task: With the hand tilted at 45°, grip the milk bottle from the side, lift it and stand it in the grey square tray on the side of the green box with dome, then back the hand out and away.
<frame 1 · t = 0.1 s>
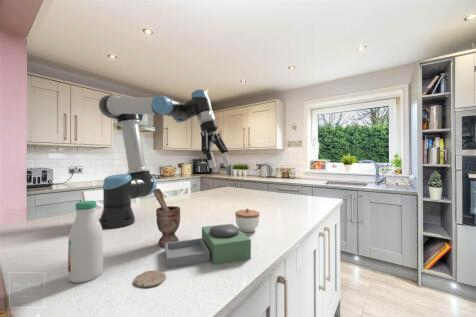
hand: (220, 166, 100), 28 cm above the worktop, tool tilted 20°, fingers open, 13 cm apart
flatbread: (150, 281, 59), on the worktop
milk bottle: (86, 276, 60), on the worktop
green box with dome: (224, 250, 77), on the worktop
mortar and pestle: (164, 243, 84), on the worktop
grey square tray: (186, 255, 73), on the worktop
lidded jar: (247, 230, 99), on the worktop
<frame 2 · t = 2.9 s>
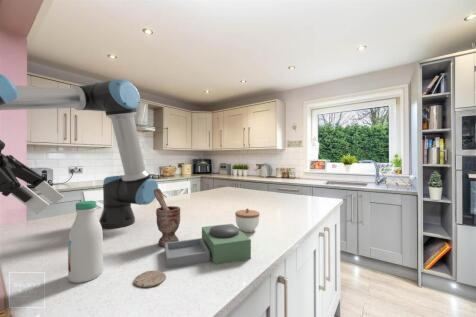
hand: (52, 204, 57), 20 cm above the worktop, tool tilted 45°, fingers open, 13 cm apart
nothing on the worktop moved.
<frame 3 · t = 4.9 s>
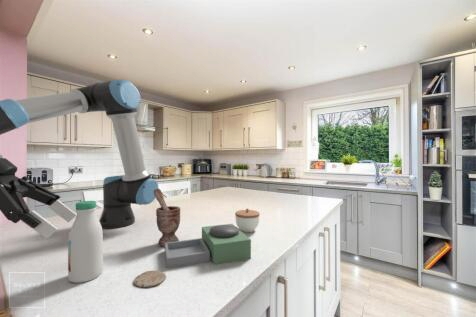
hand: (63, 225, 58), 14 cm above the worktop, tool tilted 45°, fingers open, 13 cm apart
nothing on the worktop moved.
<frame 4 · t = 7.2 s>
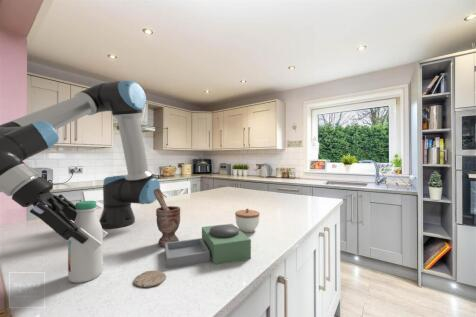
hand: (100, 242, 61), 9 cm above the worktop, tool tilted 45°, fingers closed on milk bottle, 7 cm apart
milk bottle: (86, 276, 60), on the worktop, touching gripper
everything else where it was.
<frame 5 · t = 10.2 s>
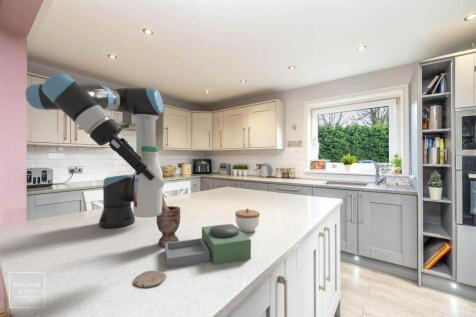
hand: (161, 185, 66), 24 cm above the worktop, tool tilted 45°, fingers closed on milk bottle, 7 cm apart
milk bottle: (147, 215, 65), point 15 cm above the worktop, touching gripper
everything else where it was.
when the fingers open (11 cm above the worktop, at t = 13.6 s): milk bottle drops 1 cm, resting on grey square tray.
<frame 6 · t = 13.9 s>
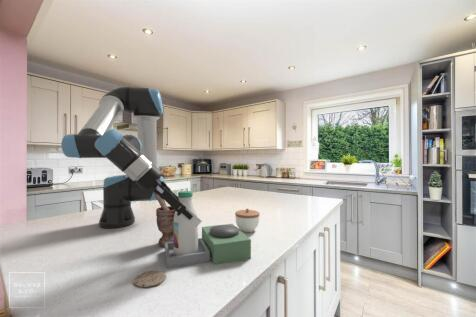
hand: (195, 219, 74), 12 cm above the worktop, tool tilted 45°, fingers open, 10 cm apart
milk bottle: (186, 253, 73), point 1 cm above the worktop, touching grey square tray
everything else where it was.
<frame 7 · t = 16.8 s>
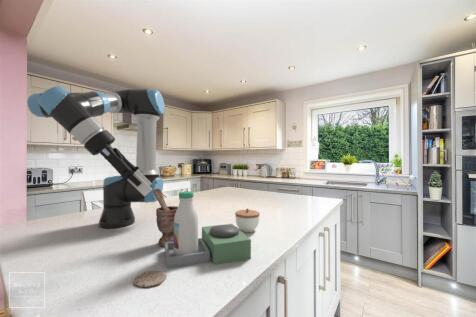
hand: (148, 189, 69), 22 cm above the worktop, tool tilted 45°, fingers open, 13 cm apart
nothing on the worktop moved.
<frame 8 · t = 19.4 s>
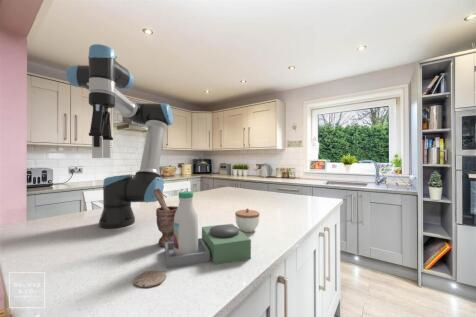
hand: (102, 158, 74), 32 cm above the worktop, tool pointing down, fingers open, 13 cm apart
nothing on the worktop moved.
at the end: milk bottle 0.1 cm off-centre on the grey square tray, point 0.6 cm above the grey square tray's base; milk bottle tilted 0°; the gripper is holding nothing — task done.
